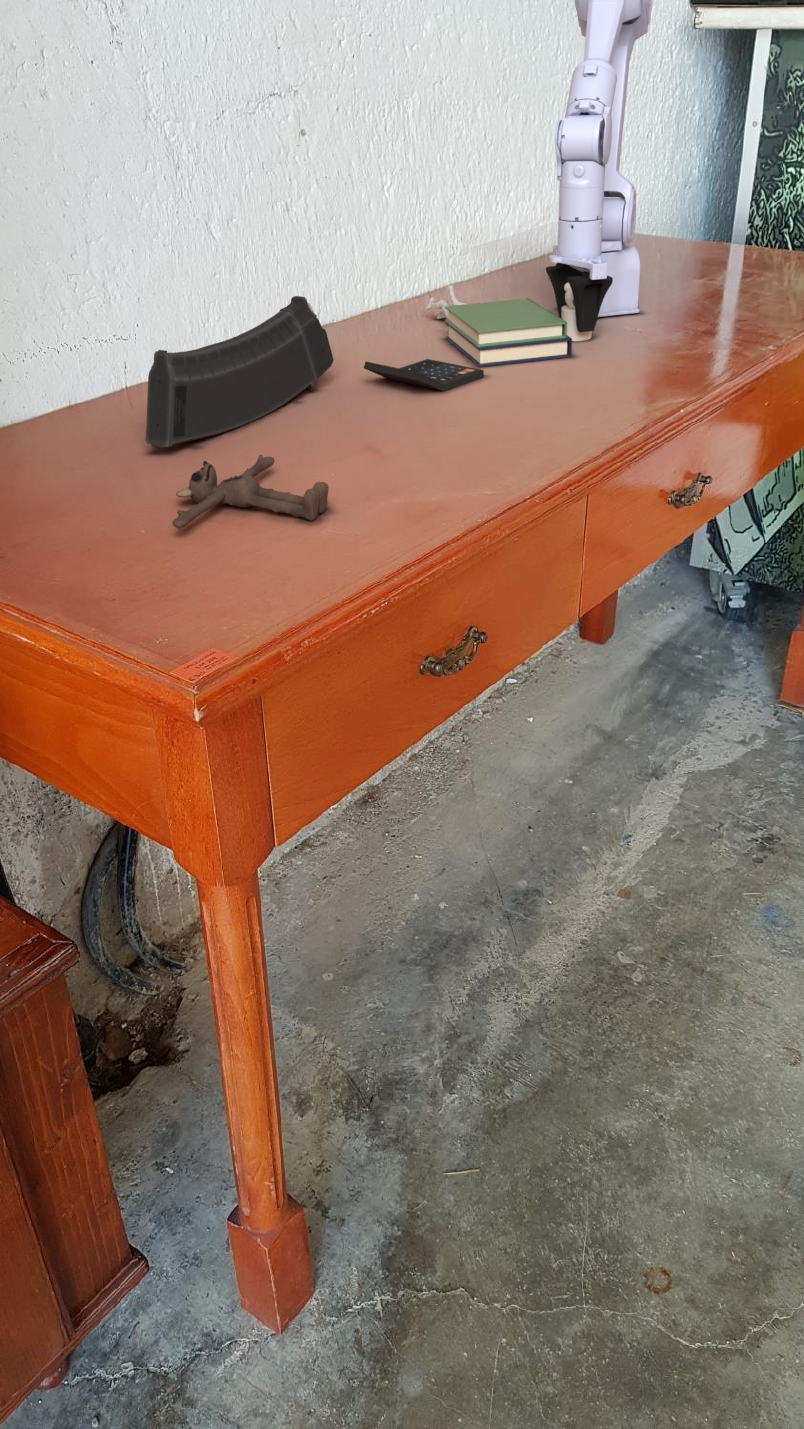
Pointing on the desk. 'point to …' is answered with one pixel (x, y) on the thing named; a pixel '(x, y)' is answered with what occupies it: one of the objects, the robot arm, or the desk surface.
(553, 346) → the book stack
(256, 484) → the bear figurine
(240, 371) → the magazine
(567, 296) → the toy bear
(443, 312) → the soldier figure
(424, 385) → the calculator
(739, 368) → the desk surface
